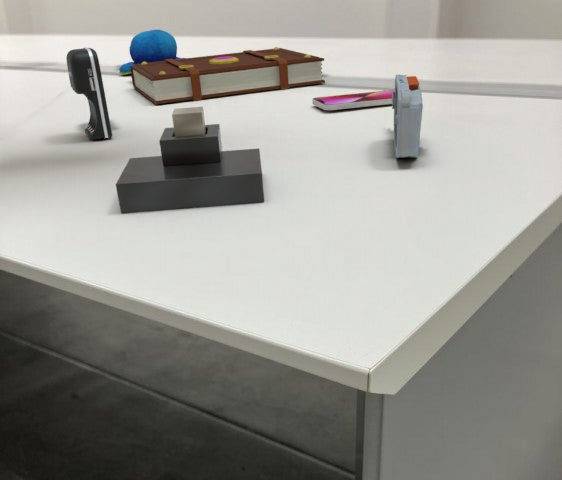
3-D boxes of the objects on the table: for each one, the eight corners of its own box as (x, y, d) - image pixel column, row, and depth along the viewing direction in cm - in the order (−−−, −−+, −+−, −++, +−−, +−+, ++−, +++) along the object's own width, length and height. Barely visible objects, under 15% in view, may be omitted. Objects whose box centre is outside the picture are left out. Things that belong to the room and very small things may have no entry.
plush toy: (120, 79, 146) (113, 36, 142) (118, 70, 161) (112, 30, 156) (197, 72, 149) (192, 29, 145) (189, 63, 163) (184, 24, 159)
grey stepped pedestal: (121, 213, 66) (110, 156, 63) (135, 182, 76) (126, 130, 73) (264, 202, 66) (259, 144, 64) (261, 172, 76) (257, 120, 73)
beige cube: (175, 140, 69) (171, 114, 68) (177, 134, 72) (174, 108, 71) (204, 138, 69) (201, 111, 68) (205, 131, 72) (203, 106, 71)
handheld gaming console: (391, 138, 86) (392, 69, 82) (414, 137, 85) (417, 68, 81) (394, 169, 74) (396, 90, 69) (422, 168, 73) (425, 89, 69)
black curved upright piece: (79, 134, 100) (62, 48, 94) (105, 130, 101) (89, 45, 95) (86, 143, 94) (67, 52, 88) (113, 139, 95) (97, 49, 90)
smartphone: (418, 96, 104) (325, 105, 101) (418, 102, 104) (325, 112, 101) (399, 89, 110) (310, 98, 107) (398, 95, 110) (310, 104, 107)
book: (325, 84, 125) (324, 54, 122) (156, 105, 116) (151, 74, 114) (282, 70, 143) (280, 44, 140) (133, 88, 135) (128, 60, 132)
